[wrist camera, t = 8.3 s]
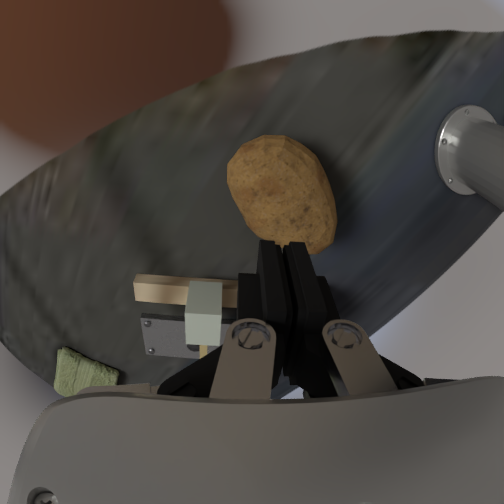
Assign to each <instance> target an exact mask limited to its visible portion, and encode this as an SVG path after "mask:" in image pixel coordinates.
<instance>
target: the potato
mask: <svg viewBox="0 0 504 504" xmlns="http://www.w3.org/2000/svg"><path fill="white" fill-rule="evenodd" d="M227 184H228V186H229V189H230V191H231V194H232V197H233V199H234V201H235V203H236V204H237V206H238V208H239V210H240V211H241V213H242V215H243V217H244V219H245V221H246V223H247V226H248V227H249V228H250V229H251V230H252V231H253V232H254V233H255V234H256V235H257V236H258V237H260V238H262V239H264V240H273V241H275V244H277V245H280V246H281V248H283V247H284V245H289V242H290V241H293V242H305V244H306V247H307V250H308V253H309V254H319V253H320V252H321V251H323V250H324V249H325V248H327V247H328V246H329V245H330V244H332V243H333V240H334V235H335V231H336V226H337V213H336V206H335V200H334V196H333V193H332V190H331V187H330V184H329V181H328V178H327V176H326V174H325V171H324V169H323V167H322V165H321V164H320V162H319V160H318V158H317V156H316V155H315V154H314V153H313V152H311V151H310V150H309V149H308V148H306V147H305V146H304V145H303V144H301V143H299V142H297V141H295V140H293V139H291V138H289V137H287V136H282V135H263V136H260V137H258V138H256V139H253V140H251V141H249V142H247V143H244V144H242V145H241V147H240V148H239V149H238V151H237V152H236V154H235V155H234V156H233V158H232V159H231V160H230V162H229V163H228V165H227Z"/></svg>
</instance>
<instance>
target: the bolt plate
mask: <svg viewBox="0 0 504 504" xmlns="http://www.w3.org/2000/svg"><path fill="white" fill-rule="evenodd" d="M140 319H141V325H142V331H143V338H144V343H145V349H146V354H150V355H160V356H170V357H183V358H196V359H200V345H193V344H186V335H185V317H181V316H168V315H156V314H145V313H142V314H141V317H140ZM234 322H236V320H229V319H221V331H220V346H221V345H222V344H223V343H224V339H225V335H226V332H227V330H228V328H229V326H230V325H231V324H232V323H234ZM218 347H219V346H209V345H207V354H208V353H210V352H212V351H213V350H215V349H216V348H218Z"/></svg>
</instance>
